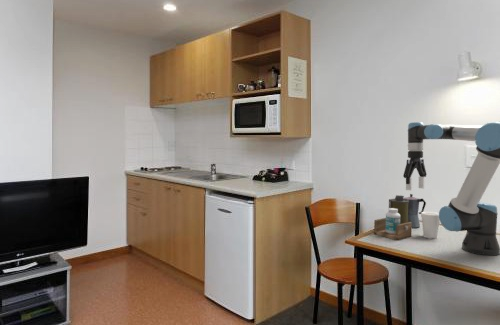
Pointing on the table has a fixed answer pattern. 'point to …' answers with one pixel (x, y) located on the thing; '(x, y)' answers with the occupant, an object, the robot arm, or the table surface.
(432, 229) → the foam cup
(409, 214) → the moka pot
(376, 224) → the holder
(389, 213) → the pill bottle
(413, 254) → the table surface
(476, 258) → the table surface
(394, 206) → the canister
